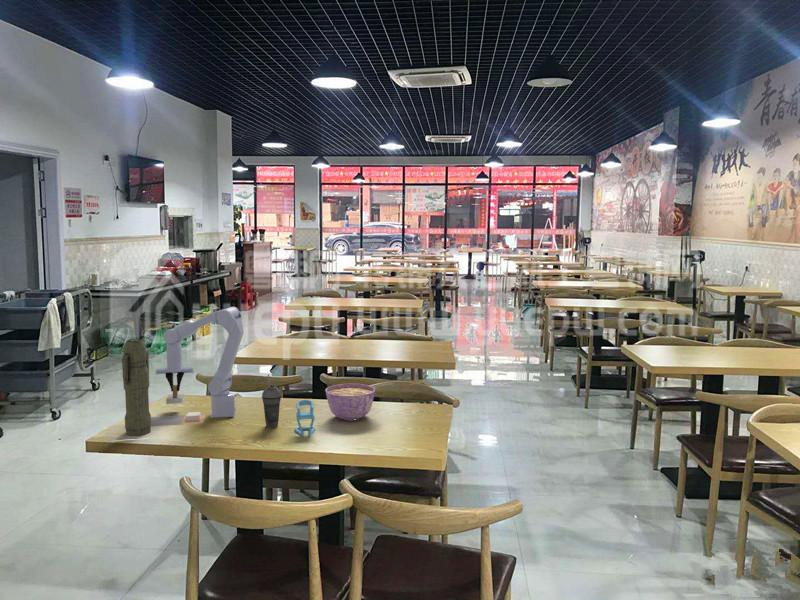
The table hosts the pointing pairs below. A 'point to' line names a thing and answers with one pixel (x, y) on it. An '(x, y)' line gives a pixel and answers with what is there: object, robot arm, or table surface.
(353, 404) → the bowl of food
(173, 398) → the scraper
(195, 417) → the block
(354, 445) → the table surface
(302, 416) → the chair
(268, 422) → the beverage cup
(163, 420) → the mat
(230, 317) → the robot arm
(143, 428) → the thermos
